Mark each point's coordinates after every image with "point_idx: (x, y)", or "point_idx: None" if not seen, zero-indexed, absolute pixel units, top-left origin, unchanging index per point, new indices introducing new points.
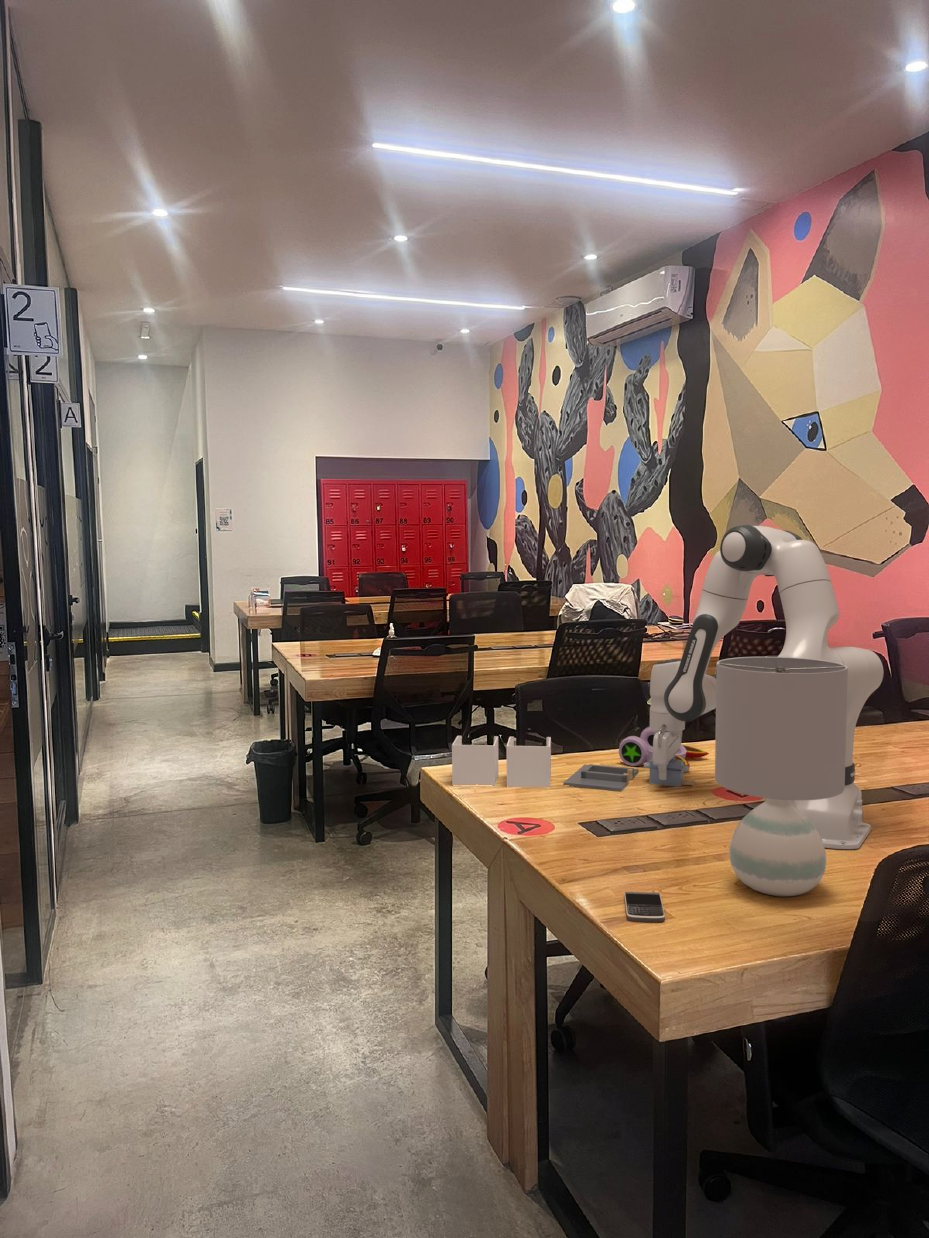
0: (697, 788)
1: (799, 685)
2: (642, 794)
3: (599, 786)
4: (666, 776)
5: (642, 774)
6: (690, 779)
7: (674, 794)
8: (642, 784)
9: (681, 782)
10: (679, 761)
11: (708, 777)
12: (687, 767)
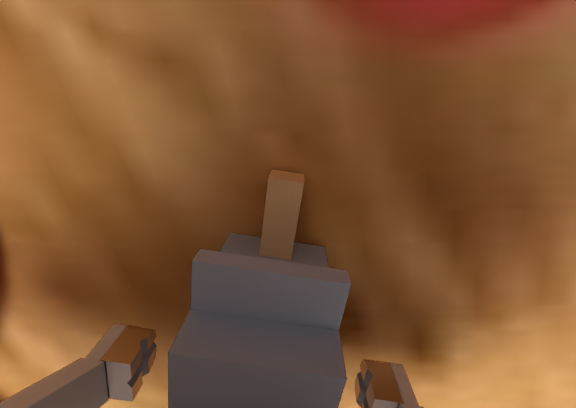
0: (353, 148)
1: None
2: (498, 403)
3: None
4: (403, 378)
5: (140, 405)
6: (267, 206)
7: (502, 278)
8: None
9: (305, 254)
10: (243, 388)
11: (28, 66)
12: (257, 279)
